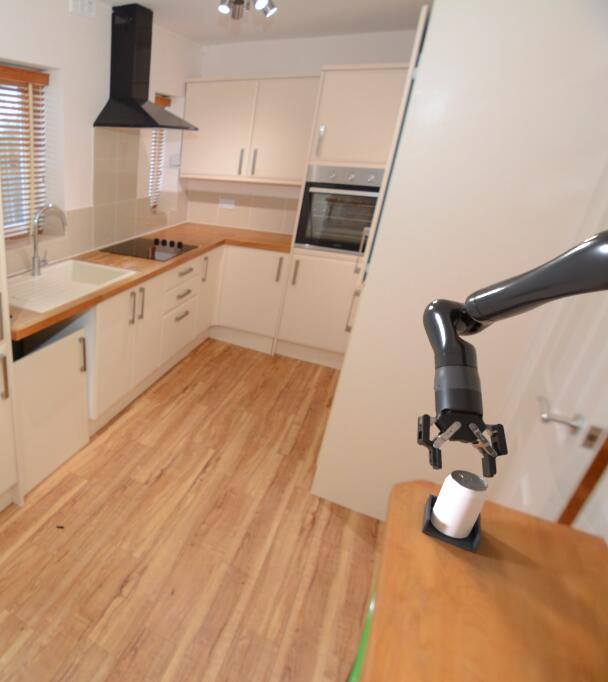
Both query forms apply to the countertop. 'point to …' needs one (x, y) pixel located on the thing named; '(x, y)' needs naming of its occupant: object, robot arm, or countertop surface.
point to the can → (459, 504)
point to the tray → (465, 543)
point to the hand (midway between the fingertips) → (462, 473)
